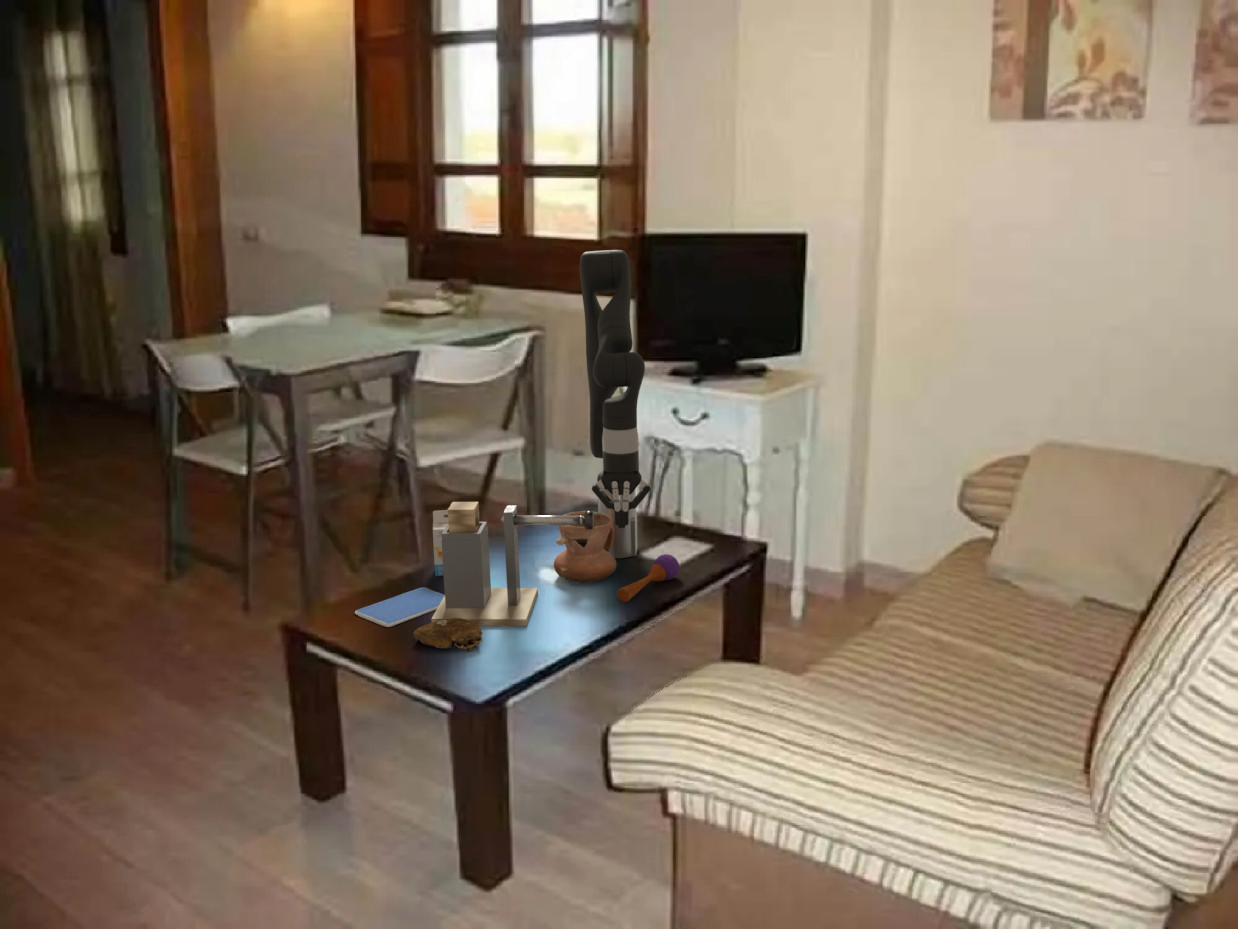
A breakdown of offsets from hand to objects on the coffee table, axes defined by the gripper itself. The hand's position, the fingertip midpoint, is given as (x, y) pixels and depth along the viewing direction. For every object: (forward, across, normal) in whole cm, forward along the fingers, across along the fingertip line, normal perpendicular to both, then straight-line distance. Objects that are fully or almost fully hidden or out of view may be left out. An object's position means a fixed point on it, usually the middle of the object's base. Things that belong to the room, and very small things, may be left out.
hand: (622, 526), depth 252 cm
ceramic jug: (+19, -10, +20) cm, 29 cm away
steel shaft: (+1, -16, 0) cm, 16 cm away
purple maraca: (+19, +5, +12) cm, 23 cm away
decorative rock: (+19, -34, -18) cm, 43 cm away
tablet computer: (+19, -48, 0) cm, 51 cm away
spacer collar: (+2, -34, 0) cm, 34 cm away
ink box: (+19, -42, +22) cm, 51 cm away
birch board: (+18, -30, -1) cm, 35 cm away
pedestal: (+17, -34, 0) cm, 38 cm away
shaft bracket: (+17, -24, 0) cm, 29 cm away
